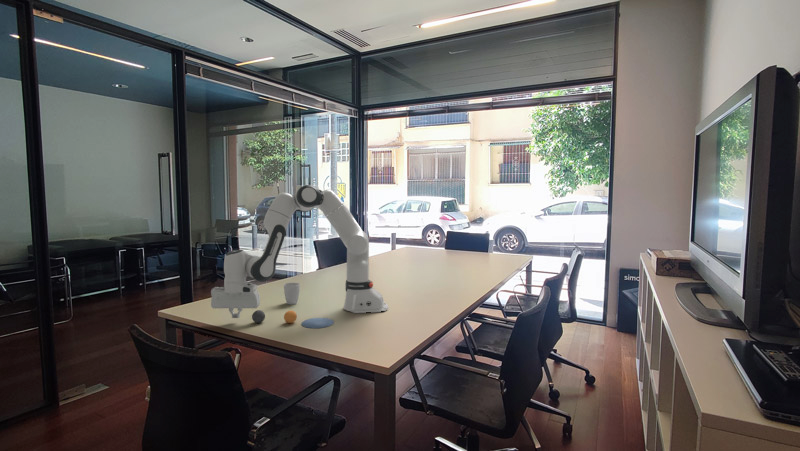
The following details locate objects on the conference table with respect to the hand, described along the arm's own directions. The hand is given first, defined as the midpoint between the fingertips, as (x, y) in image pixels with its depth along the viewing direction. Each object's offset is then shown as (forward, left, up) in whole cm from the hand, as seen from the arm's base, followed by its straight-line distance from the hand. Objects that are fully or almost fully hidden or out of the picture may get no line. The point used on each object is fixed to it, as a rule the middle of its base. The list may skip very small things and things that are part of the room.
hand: (235, 317), depth 173 cm
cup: (-16, -32, -2) cm, 36 cm away
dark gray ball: (-10, 0, +1) cm, 10 cm away
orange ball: (-24, 0, +1) cm, 24 cm away
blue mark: (-36, 0, -2) cm, 36 cm away
